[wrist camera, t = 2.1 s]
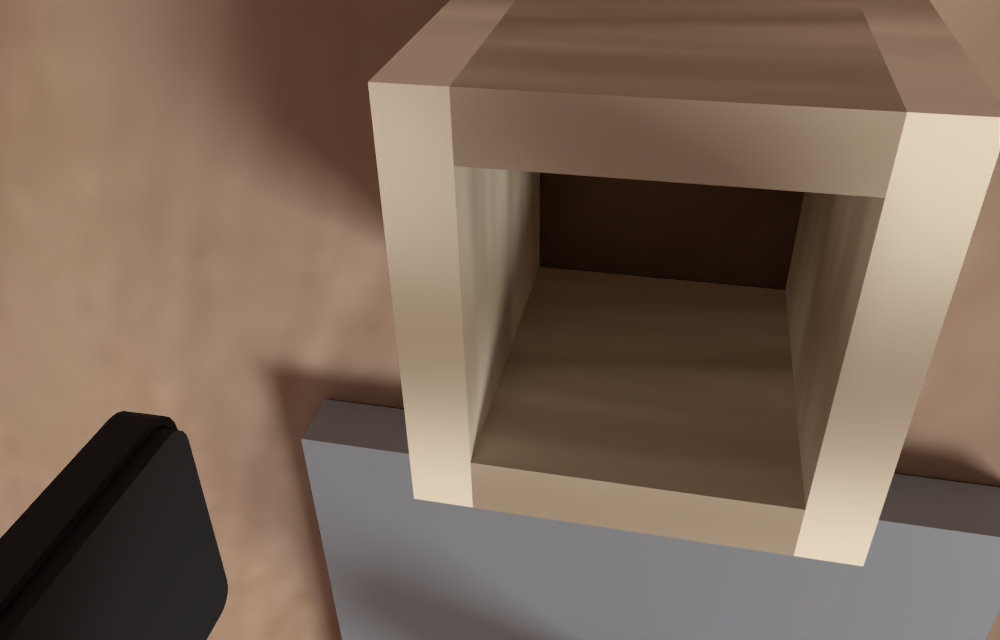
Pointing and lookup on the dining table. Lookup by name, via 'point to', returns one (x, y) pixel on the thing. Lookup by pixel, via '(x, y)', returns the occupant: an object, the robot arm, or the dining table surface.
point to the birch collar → (667, 302)
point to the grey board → (626, 563)
